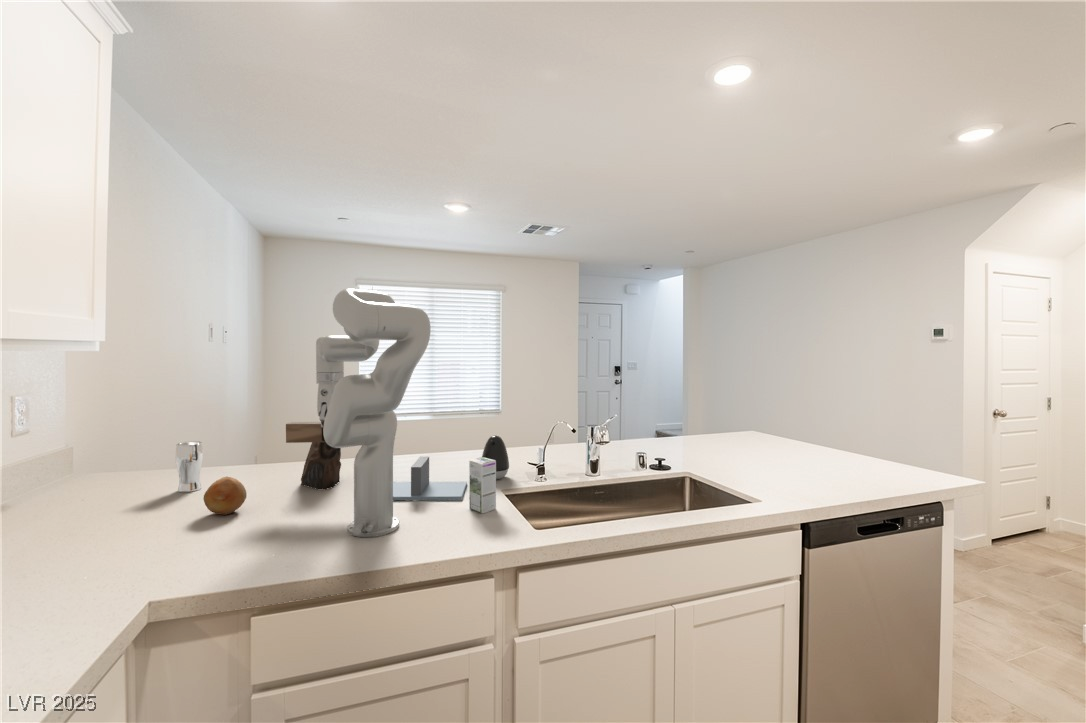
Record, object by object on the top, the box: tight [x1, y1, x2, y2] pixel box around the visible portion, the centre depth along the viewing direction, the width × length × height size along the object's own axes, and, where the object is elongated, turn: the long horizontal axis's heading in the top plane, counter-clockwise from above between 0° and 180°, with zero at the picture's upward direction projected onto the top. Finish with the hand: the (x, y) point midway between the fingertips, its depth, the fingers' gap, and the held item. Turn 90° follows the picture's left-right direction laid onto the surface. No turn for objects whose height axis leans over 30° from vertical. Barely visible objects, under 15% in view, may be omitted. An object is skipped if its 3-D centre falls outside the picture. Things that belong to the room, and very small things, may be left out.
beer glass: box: [175, 440, 204, 493], centre depth 154 cm, size 7×7×15 cm
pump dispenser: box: [481, 435, 510, 480], centre depth 172 cm, size 10×10×15 cm
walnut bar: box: [285, 421, 326, 444], centre depth 144 cm, size 4×24×6 cm, turn 94°
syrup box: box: [468, 456, 497, 514], centre depth 139 cm, size 6×6×14 cm
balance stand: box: [393, 456, 468, 501], centre depth 154 cm, size 16×28×10 cm, turn 93°
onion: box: [203, 476, 247, 516], centre depth 134 cm, size 10×10×10 cm
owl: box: [300, 442, 342, 490], centre depth 161 cm, size 13×13×20 cm
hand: (330, 438), depth 144 cm, fingers closed on walnut bar, 4 cm apart
